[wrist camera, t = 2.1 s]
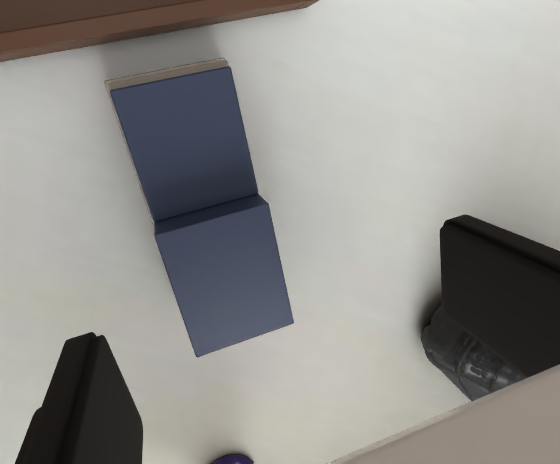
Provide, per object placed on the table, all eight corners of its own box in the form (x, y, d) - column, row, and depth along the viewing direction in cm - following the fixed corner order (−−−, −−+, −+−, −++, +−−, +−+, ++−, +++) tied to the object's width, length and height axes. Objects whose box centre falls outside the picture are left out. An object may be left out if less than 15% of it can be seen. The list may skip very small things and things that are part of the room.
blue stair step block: (184, 310, 25) (192, 364, 20) (106, 81, 20) (91, 77, 15) (272, 281, 26) (300, 326, 21) (221, 59, 21) (242, 48, 16)
